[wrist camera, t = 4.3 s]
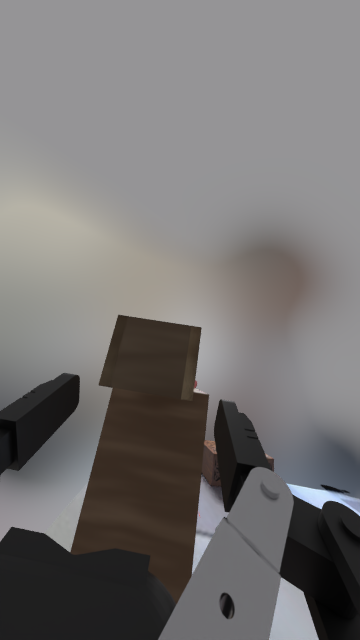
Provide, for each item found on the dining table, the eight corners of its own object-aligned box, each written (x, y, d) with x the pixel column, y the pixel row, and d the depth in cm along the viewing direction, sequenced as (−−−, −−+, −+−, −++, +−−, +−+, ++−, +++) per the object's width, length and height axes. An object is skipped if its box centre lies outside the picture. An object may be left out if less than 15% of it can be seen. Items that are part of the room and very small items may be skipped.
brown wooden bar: (192, 400, 9) (201, 327, 11) (98, 385, 9) (118, 314, 11) (182, 386, 34) (185, 364, 35) (155, 381, 34) (159, 360, 35)
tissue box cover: (210, 486, 63) (213, 453, 66) (197, 466, 77) (200, 439, 80) (273, 490, 68) (273, 458, 71) (250, 470, 81) (251, 445, 85)
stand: (148, 1117, 9) (213, 395, 19) (-58, 1048, 9) (115, 378, 19) (166, 668, 22) (198, 389, 32) (83, 649, 22) (141, 379, 32)
